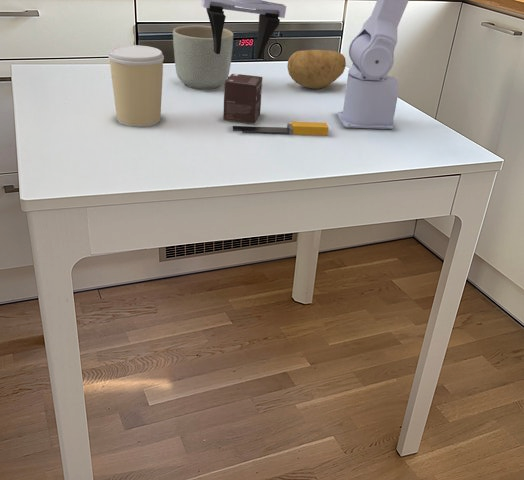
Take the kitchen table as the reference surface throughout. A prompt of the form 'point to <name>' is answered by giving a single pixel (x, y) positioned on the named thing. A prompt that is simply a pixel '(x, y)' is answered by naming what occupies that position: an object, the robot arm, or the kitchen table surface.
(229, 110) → the box
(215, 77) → the planter
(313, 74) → the potato
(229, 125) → the kitchen table surface
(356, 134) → the kitchen table surface
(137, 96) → the coffee cup
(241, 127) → the knife
